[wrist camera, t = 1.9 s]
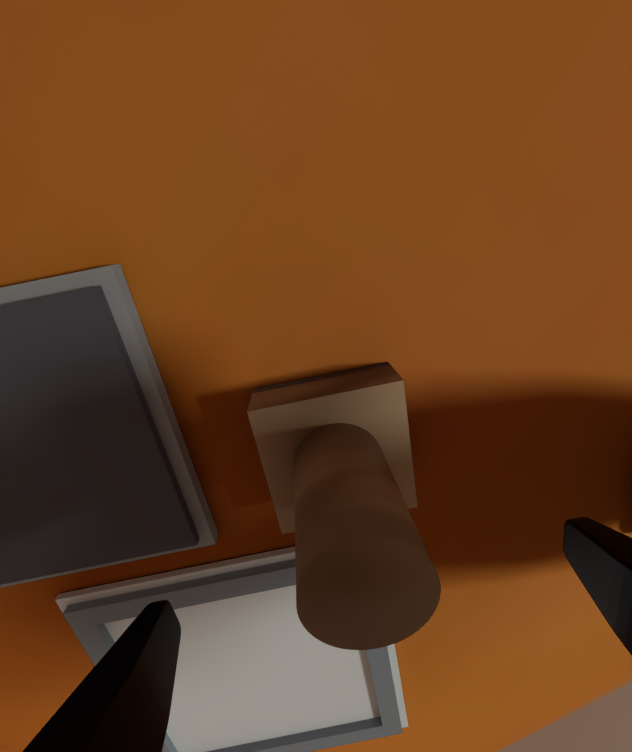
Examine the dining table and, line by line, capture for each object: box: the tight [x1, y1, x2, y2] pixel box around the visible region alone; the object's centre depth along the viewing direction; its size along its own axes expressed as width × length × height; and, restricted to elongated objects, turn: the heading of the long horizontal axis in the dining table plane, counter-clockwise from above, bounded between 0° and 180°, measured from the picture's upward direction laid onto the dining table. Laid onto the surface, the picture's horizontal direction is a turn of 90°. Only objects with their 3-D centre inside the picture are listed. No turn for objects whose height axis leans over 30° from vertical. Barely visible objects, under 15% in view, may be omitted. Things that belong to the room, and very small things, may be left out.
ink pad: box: [0, 264, 218, 588], centre depth 13 cm, size 11×11×1 cm
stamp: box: [247, 362, 441, 650], centre depth 11 cm, size 5×5×7 cm
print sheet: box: [55, 546, 408, 752], centre depth 18 cm, size 14×14×1 cm
